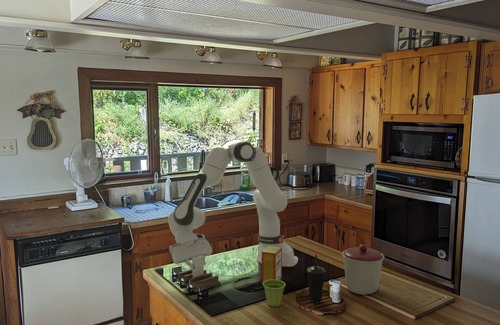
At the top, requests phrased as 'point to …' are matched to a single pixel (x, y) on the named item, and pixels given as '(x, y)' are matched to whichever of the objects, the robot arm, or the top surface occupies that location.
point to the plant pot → (274, 292)
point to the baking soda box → (272, 263)
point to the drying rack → (199, 279)
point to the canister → (362, 269)
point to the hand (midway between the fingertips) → (198, 266)
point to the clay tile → (198, 266)
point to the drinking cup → (315, 281)
